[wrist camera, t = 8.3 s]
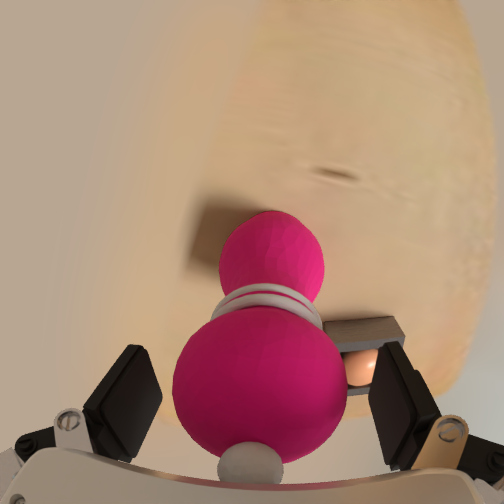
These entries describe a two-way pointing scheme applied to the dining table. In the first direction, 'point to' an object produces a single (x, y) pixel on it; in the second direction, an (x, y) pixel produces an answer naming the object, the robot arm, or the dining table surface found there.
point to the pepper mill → (262, 356)
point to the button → (359, 366)
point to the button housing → (363, 338)
